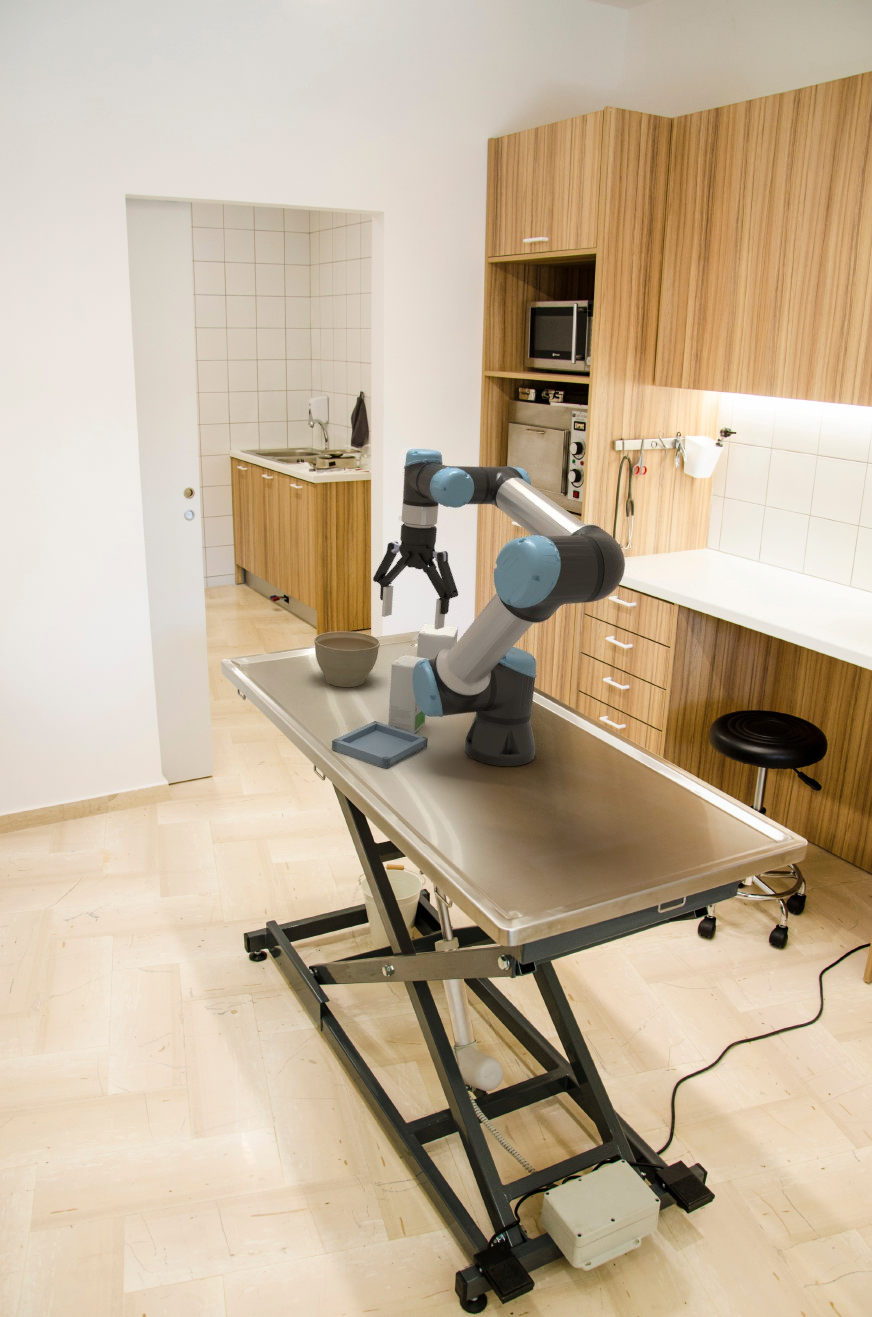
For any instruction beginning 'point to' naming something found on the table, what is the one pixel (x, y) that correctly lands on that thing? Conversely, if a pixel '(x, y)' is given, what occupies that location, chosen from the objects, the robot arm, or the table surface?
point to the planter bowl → (346, 656)
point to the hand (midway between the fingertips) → (412, 621)
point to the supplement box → (435, 640)
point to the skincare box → (404, 696)
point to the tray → (379, 744)
